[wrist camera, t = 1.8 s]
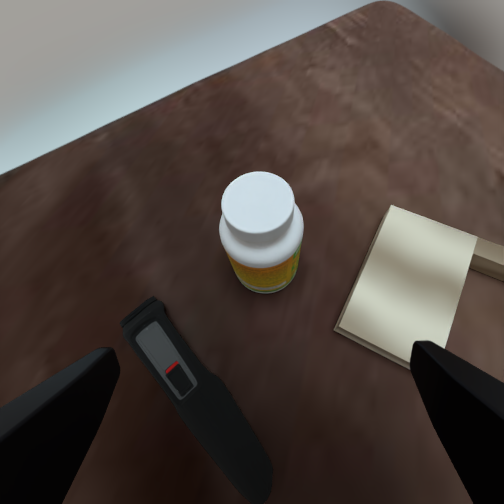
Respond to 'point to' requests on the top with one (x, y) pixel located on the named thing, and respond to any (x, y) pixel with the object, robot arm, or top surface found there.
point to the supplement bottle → (261, 231)
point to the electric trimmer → (200, 400)
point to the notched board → (413, 283)
